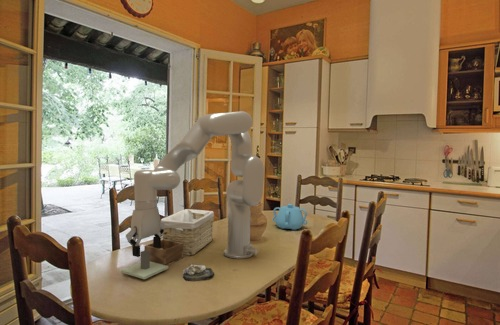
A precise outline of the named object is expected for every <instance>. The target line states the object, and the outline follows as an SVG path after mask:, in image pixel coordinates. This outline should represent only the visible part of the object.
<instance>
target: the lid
mask: <svg viewBox="0 0 500 325" xmlns="http://www.w3.org/2000/svg"><path fill="white" fill-rule="evenodd" d="M167 269H169V265H162V264H158V263H155V262H151V261H150V251H147V250H145V251H144V250H141V251H140V262H137V263H135V264H133V265H130V266H127V267H126V268H123V269H120V273H123V274H126V275H129V276H132V277H136V278H139V279H142V280H146V279H149V278H151V277H152V276H154V275H157V274H159V273H161V272H163V271H165V270H167Z"/></svg>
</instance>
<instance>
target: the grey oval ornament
mask: <svg viewBox="0 0 500 325" xmlns="http://www.w3.org/2000/svg"><path fill="white" fill-rule="evenodd" d="M182 272H183V274H182V279H183V280H184V281H186V282H202V281H207V280H208V281H209V280H210V279H213V278H214V277H215V272H214V271H213V269H212V268H210V267H206V265H200V264H199V265H197V264H190V265H189V266H188V267H186V268H185V269H183V271H182Z"/></svg>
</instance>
